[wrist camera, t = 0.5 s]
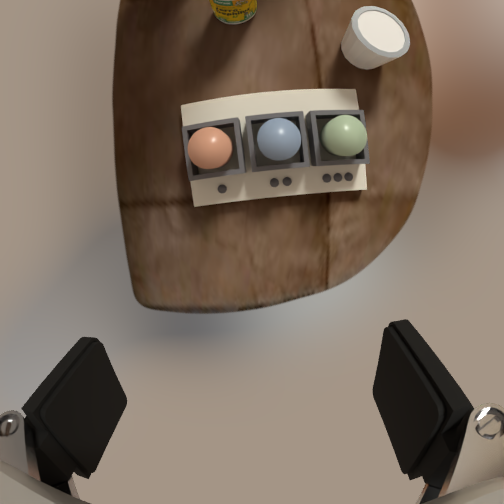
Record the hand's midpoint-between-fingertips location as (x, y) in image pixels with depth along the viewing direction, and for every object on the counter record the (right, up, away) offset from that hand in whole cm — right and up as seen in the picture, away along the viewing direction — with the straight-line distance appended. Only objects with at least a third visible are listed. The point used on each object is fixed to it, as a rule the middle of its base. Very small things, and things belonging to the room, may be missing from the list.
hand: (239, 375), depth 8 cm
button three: (+9, +16, +19) cm, 26 cm away
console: (+3, +16, +22) cm, 28 cm away
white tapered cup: (+14, +29, +18) cm, 37 cm away
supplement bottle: (-2, +34, +17) cm, 38 cm away
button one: (-3, +14, +20) cm, 25 cm away
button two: (+3, +15, +19) cm, 25 cm away
